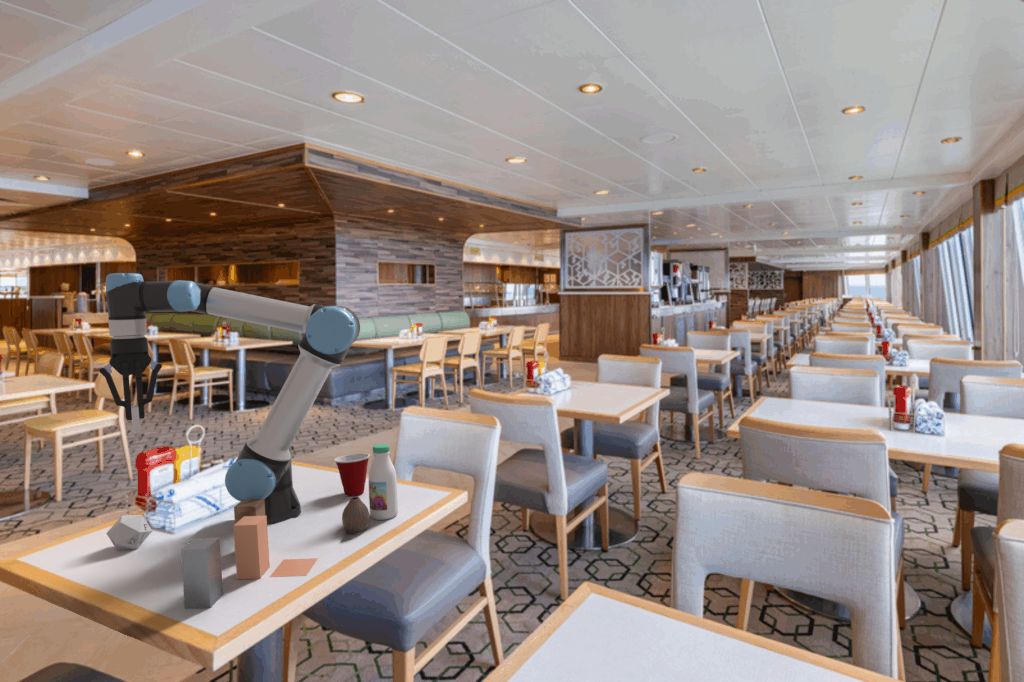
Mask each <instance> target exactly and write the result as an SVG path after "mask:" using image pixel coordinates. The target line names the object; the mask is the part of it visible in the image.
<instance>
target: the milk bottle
mask: <svg viewBox="0 0 1024 682" xmlns="http://www.w3.org/2000/svg"><path fill="white" fill-rule="evenodd" d="M390 450H391V449H390V444H388V443H378V444H375V445H373V446H372V455H373V460H372V463H371V466H370V468H369V472H368V502H369V517H371V519H373V520H377V521H378V520H379V521H383V520H385V521H386V520H390V519H393V518H395V517H396V516H397V515H398V513H399V499H398V482H397V480H398V479H397V472H396V471H397V470H396V469H395V468H396V467H395V466H394V464H393V462H392V460H391V458H390V453H391V451H390Z"/></svg>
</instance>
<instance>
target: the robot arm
mask: <svg viewBox="0 0 1024 682" xmlns="http://www.w3.org/2000/svg"><path fill="white" fill-rule="evenodd" d="M104 293H105V295H106V306H107V314H108V316H107V317H108V318H107V319H108V331H109V336H110V337H111V338H112V339H111V340H109V343H110V345H109V346H110V355H111V357H110V359H109V363H107V364H106V365H104V366H103V367H102V366H101V367H100V368H99V370H98V371H99V373H100V374H101V375H102V376H103V377H104V378H105V380H106V384H107V385H108V388H109V390H110V393H111V395H112V398H113V400H114V404H115V405H116V406H117V407H123V408H124V411H125V412H124V413H125V419H126V421H131V425H132V426H131V428H132V434H136V435H137V434H140V433H141V423H140V420H143V419H145V416H146V415H145V406H146V405H147V404H149V403H151V402H153V399H154V394H155V390H156V389H155V388H156V384H157V379H158V375H159V372H160V370H161V369H162V368H163V365H162V363H160V362H156V361H154V360H153V359H152V357H151V355H150V352H149V344H148V343H149V342H148V341H149V340H148V339H149V338H147V337H146V335H147V334H148V329H147V326H148V325H147V316H146V313H155V312H156V313H159V312H161V313H164V312H165V313H167V312H170V313H171V312H174V313H175V312H179V313H184V312H194V313H195V312H196V313H201V314H205V315H212V316H216V317H221V318H227V319H232V320H236V321H241V322H246V323H252V324H257V325H261V326H266V327H270V328H277V329H282V330H287V331H292V332H296V333H301V334H303V336H302V337H301V339H300V341H299V343H298V345H297V346H298V350H299V351H300V353H299V356H298V358H297V360H296V361H295V364H294V365H293V367H292V369H291V371H290V372H289V375H288V376H287V378H286V380H285V382H284V384H283V386H282V388H281V389H280V391H279V392H278V395H277V398H276V399H275V401H274V403H273V405H272V407H271V408H270V410H269V412H268V414H267V416H266V417H265V420H264V421H263V423H262V425H261V427H260V429H259V430H258V432H257V433H256V435H255V436H252V437H250V438H247V439H246V440H245V442H244V445H243V446H242V449H241V450H240V453H239V454H238V456H237V458H236V460H235V461H234V462H232V463H231V465H230V466H229V467H228V468H227V471H226V473H225V476H224V485H225V488H226V490H227V492H228V494H229V495H230V496H231V497H232V498H233V499H234V500H236V501H238V502H241V501H242V500H243V499H264V502H265V516H267V525H273V524H277V523H281V522H285V521H287V520H290V519H296V518H297V517H299V516H300V515H301V513H302V510H301V508H302V507H301V502H300V500H299V498H298V496H297V493H296V490H295V489H294V485H293V468H292V467H293V466H292V451H291V450H292V449H291V448H292V443H293V442H294V440H295V438H296V437H297V434H298V432H300V429H301V428H302V425H303V423H304V421H305V419H306V418H307V416H308V414H309V412H310V410H311V408H312V406H313V405H314V403H315V401H316V399H317V397H318V396H319V394H320V391H321V390H322V388H323V386H324V383H325V382H326V380H327V379H328V377H329V375H330V374H331V371H332V369H333V368H337V367H339V366H341V365H342V363H343V362H344V359H345V358H346V356H347V354H348V352H349V350H350V349H351V346H352V345H353V344H354V342H355V341H356V340H357V339H358V337H359V336H360V333H361V332H360V331H361V323H360V319H359V318H358V316H357V315H356V313H355V312H353V310H352V309H350V308H347V307H345V306H342V305H322V304H316V303H314V304H312V305H310V306H308V305H304V304H298V303H294V302H288V301H285V300H280V299H275V298H270V297H269V298H268V297H266V296H264V297H263V296H259V295H256V294H249V293H246V292H240V291H235V290H230V289H225V288H220V287H216V286H210V285H206V284H203V283H199V282H194V281H192V280H179V279H177V280H158V281H146V280H144V277H143V275H142V274H140V273H136V272H135V273H134V272H132V273H131V272H128V273H127V272H126V273H123V272H115V273H109V274H107V275H106V277H105V292H104ZM149 365H150V370H151V373H150V377H149V382H148V386H147V391H146V395H145V397H144V390H143V389H144V388H143V375H142V374H143V373H144V372H145V371H146V369H148V366H149ZM112 368H113V369H114V370H115V371H116V372H117V373H118V374H119V375H121V376H122V385H123V387H122V388H123V400H122V399H121V396H120V394H119V392H118V390H117V387H116V386H117V385H115V381H114V379H113V376H112V375H111V374H112V373H113V370H112ZM131 375H133V376H134V378H135V379H134V380H135V388H136V389H135V390H136V391H135V392H136V400H137V401H136V402H137V404H136V405H132V400H131V399H132V398H131V389H130V385H131V384H130V376H131Z"/></svg>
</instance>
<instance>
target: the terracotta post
mask: <svg viewBox="0 0 1024 682" xmlns="http://www.w3.org/2000/svg"><path fill="white" fill-rule="evenodd" d="M233 538H234V540H233V541H234V555H235V568H236V579H237V580H252V579H254V580H255V579H261V578H262V577H263V576H264V575H265V574H266V573H267V571H268V569H270V568H271V567H270V552H269V551H270V550H269V548H270V547H269V532H268V524H267V516H244V517H243V518H242V519H240V520H239V521H238V522H237V523H236V524H235V523H234V525H233Z"/></svg>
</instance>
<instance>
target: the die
mask: <svg viewBox="0 0 1024 682" xmlns="http://www.w3.org/2000/svg"><path fill="white" fill-rule="evenodd" d="M152 532H153V530H152V529H151V527H150V525H149V523H148V522H147V520H146V518H145V517H144V515H143V514H129V515H127V514H126V515H121V516H120V517H119V518H118V519H117V521H116V522H115V523H114V524H113V525H112V526H111V527H110V528H109V529H108V531H107V532H106V535H107V536H108V539H109V540H110V541H111V543H112V545H113V546H114V548H115V549H116V551H121V550H122V551H124V550H127V551H128V550H138V549H139V548H140V547H141V545H142V544H143V543H144V542H145V541H146V539H147V538H148V537H149V536H150V534H151V533H152Z"/></svg>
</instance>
